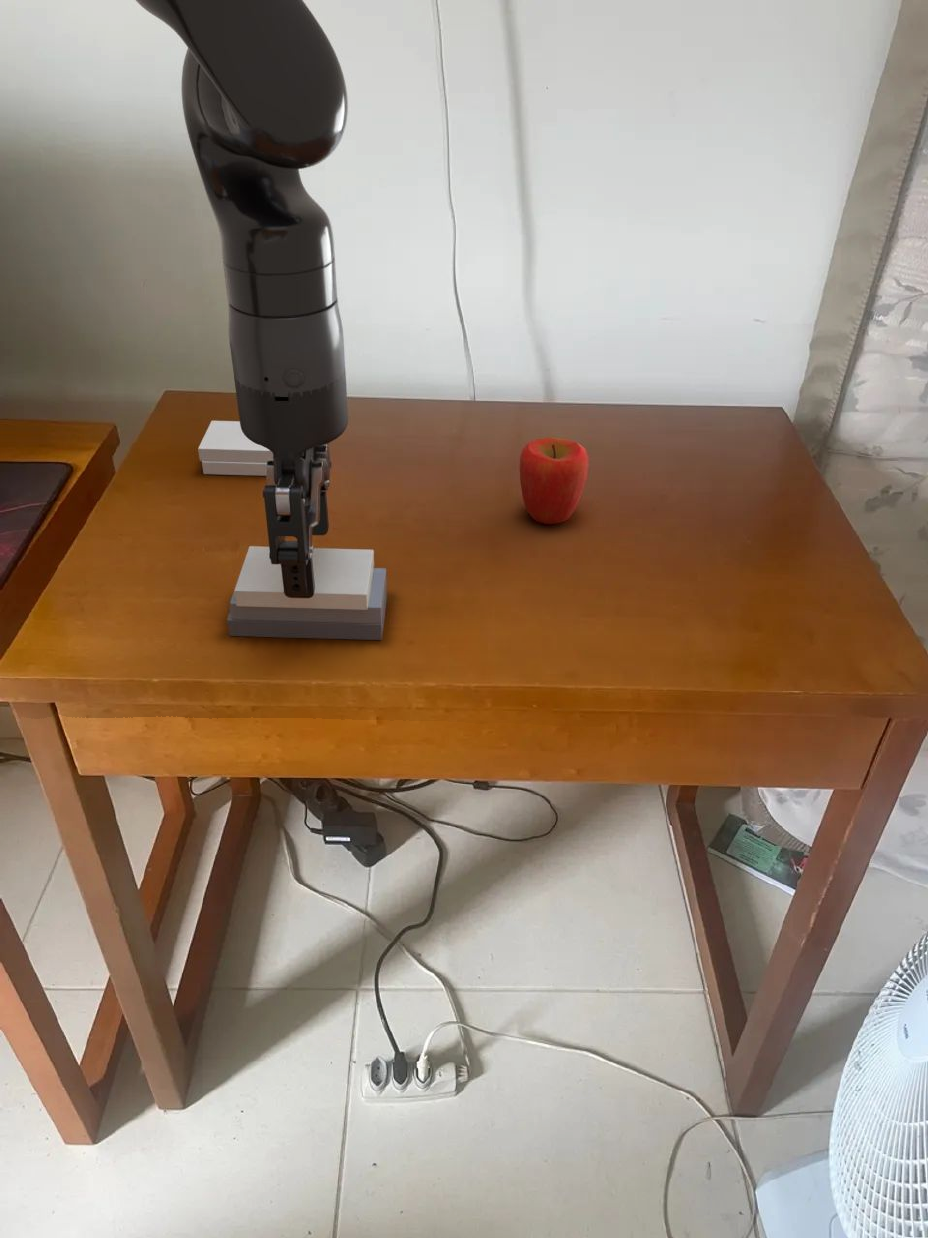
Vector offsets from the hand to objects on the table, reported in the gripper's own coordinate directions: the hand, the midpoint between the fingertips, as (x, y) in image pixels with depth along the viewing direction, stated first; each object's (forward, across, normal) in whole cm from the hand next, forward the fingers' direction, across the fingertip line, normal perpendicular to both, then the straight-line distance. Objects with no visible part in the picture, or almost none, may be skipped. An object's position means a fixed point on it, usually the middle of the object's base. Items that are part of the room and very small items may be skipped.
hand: (307, 562), depth 76 cm
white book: (+2, 0, 0) cm, 2 cm away
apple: (+6, -17, +20) cm, 27 cm away
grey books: (+5, 0, 0) cm, 5 cm away
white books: (+5, -26, -9) cm, 28 cm away
